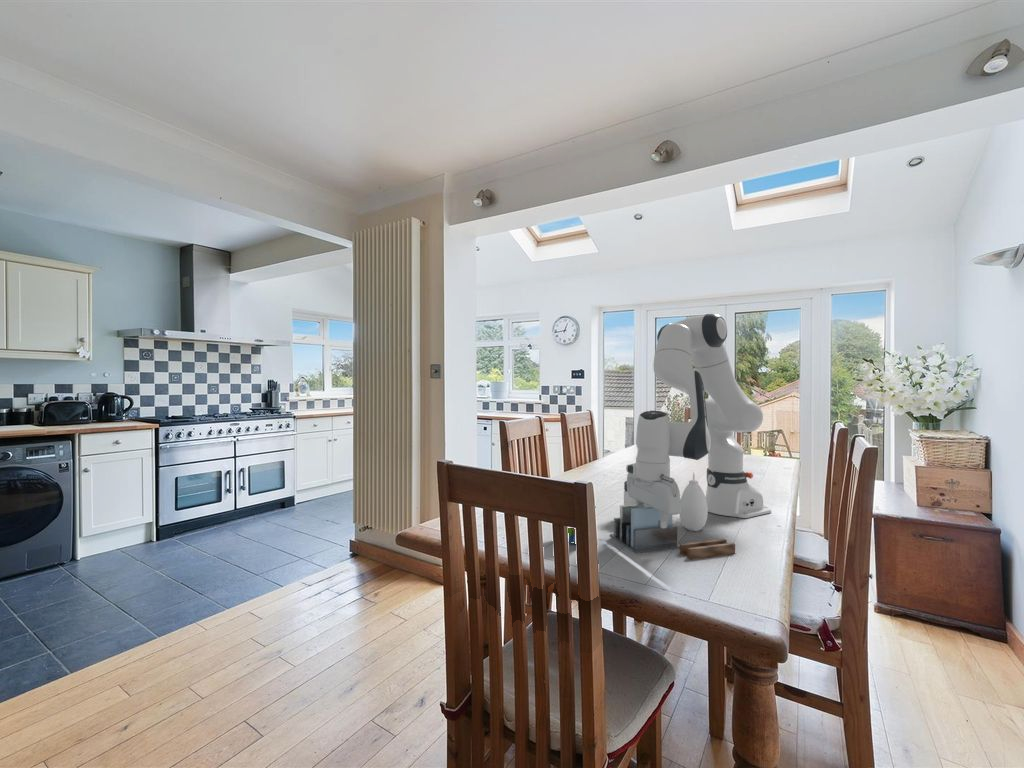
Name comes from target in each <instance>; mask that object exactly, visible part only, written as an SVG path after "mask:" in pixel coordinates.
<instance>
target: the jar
mask: <svg viewBox="0 0 1024 768" xmlns="http://www.w3.org/2000/svg"><path fill="white" fill-rule="evenodd" d="M623 486H624V487H623V505H630V504H636V500H635V499H633V498H631V497H629V495H628V493H627V480H625V481H624V484H623Z"/></svg>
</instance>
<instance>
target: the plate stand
mask: <svg viewBox="0 0 1024 768" xmlns="http://www.w3.org/2000/svg"><path fill="white" fill-rule="evenodd" d="M679 545H680V548H679V552H678V553H679V554H680V555H682V556H684V557H685V558H687V559H689V560H690V561H693V560H702V559H708V558H715V557H722V556H730V555H737V553H736V543H734V542H728V540H727V539H726V538H719V539H711V540H703V541H702V540H701V541H696V542H695V541H693V542H686V543H685V542H684V543H680V544H679Z"/></svg>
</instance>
